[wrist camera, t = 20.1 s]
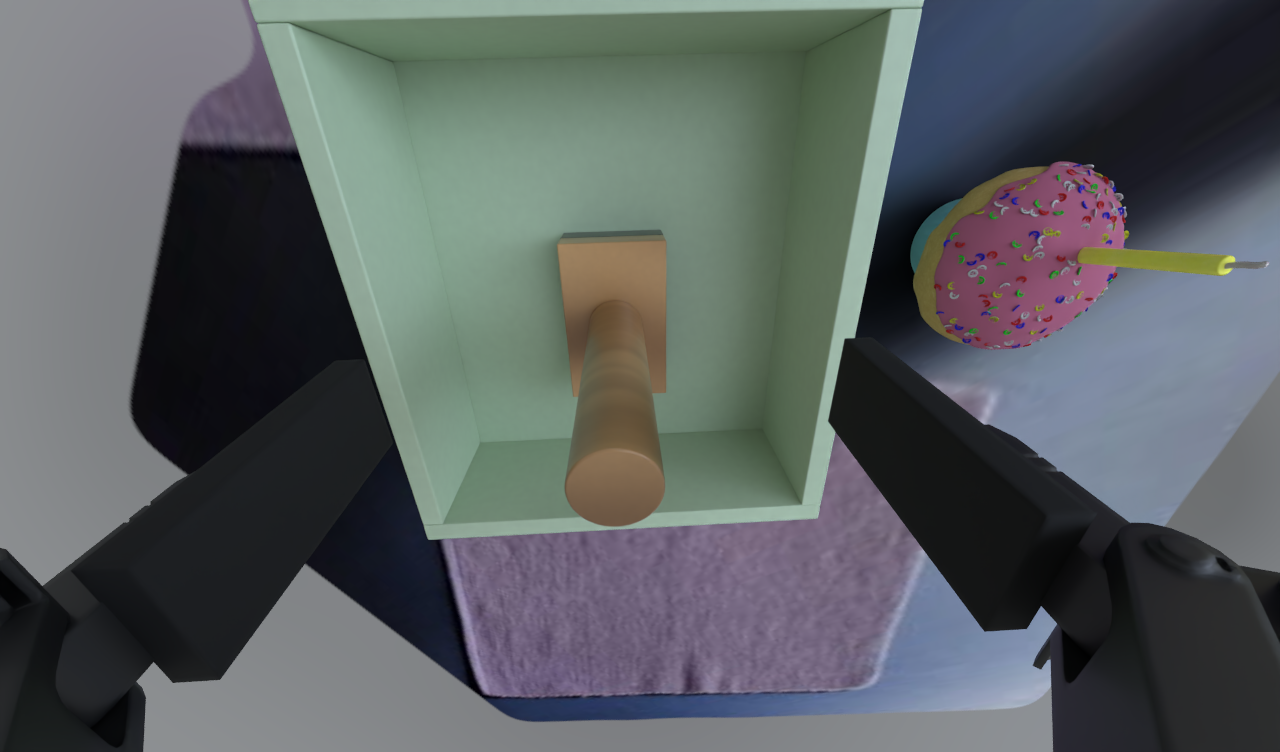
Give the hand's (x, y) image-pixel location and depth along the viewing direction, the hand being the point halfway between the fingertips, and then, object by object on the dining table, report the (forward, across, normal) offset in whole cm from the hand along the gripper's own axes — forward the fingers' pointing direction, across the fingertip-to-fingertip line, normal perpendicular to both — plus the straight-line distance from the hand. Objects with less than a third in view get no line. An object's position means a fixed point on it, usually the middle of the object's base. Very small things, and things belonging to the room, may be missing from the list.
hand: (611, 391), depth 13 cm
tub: (+14, 0, 0) cm, 14 cm away
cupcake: (+14, +19, 0) cm, 24 cm away
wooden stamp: (+13, 0, -2) cm, 13 cm away
